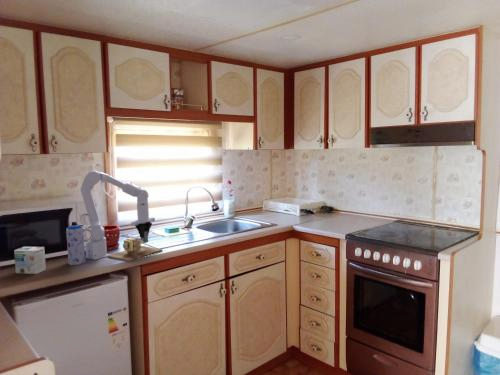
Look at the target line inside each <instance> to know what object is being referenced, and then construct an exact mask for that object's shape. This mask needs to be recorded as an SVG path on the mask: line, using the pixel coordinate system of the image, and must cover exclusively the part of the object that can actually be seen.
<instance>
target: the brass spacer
mask: <svg viewBox="0 0 500 375" xmlns="http://www.w3.org/2000/svg"><path fill="white" fill-rule="evenodd" d="M124 243H128V244H129V247H128V248H123V251H125V250H126V251H133V241H130V240H126V239H124V240H123V244H124Z"/></svg>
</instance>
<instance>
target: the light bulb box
mask: <svg viewBox="0 0 500 375" xmlns="http://www.w3.org/2000/svg"><path fill="white" fill-rule="evenodd" d="M13 252H14V262H15V263H14V266H15V273H16V274H26V275H27V274H29V275H37V274H39V273H42V272H43V271H46V270H47V267H46V253H45V246H22V247H19V248H17V249H14V250H13Z"/></svg>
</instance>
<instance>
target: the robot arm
mask: <svg viewBox="0 0 500 375" xmlns="http://www.w3.org/2000/svg"><path fill="white" fill-rule="evenodd" d="M99 182H100V183H108V184H111V185H114V186H116V187H117V188H121V190H122V192H123V193H124V194H127V195H128V196H131V197H134V198H135V197H136V202H137V203H136V209H137V211H136V213H137V220H134V221H131V222H130V225H131V227H135V228H136V230H137V232H138V234H139V238H140V239H141V238H144V231H148V235H149V234H150V230H151V227H152V225H153V223H152V222H156V218H155V217H150V216H149V215H150V214H149V213H150V212H149V199H148V198H149V193H148V191H147V190H146V189H144V187H141V186H137V185H135V184H134V183H133V182H132V181H126V182H123V181H122V180H120V179H118V178H116V177H114V176H111V175H110V174H108V173H104V172H102V171H99V170H96V169H92V170H90V171H89V172H88V173H87V174H86V175H85V177H84V179H83V181H82V184H81V186H80V192H81V196H82V199H83V203H84V206H85V209H86V214H87V217H88V219H89V224H90V229H91V233H90V241H87V242H86V244H85V259H89V260H93V261H96V260H99V259H102V258H103V259H104V258H108V255H112V254H110V253H107V251H108V250H107V248H106V237H104V235H105V233H104V231H105V230H104V227H103V226H104V225H102V224H101V221H100V217H99V213H98V211H97V208H96V204H95V200H94V196H93V193H92V190H93V188H94V186H95V185H97V184H98V183H99Z"/></svg>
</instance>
